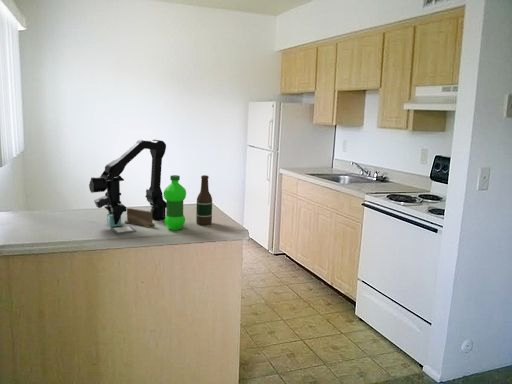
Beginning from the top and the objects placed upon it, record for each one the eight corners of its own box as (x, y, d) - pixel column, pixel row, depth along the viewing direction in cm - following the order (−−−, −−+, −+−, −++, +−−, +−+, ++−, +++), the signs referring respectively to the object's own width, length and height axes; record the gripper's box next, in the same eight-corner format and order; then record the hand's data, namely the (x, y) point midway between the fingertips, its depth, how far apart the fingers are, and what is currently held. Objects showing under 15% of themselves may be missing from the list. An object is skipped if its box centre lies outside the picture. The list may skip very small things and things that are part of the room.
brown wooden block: (131, 220, 219) (131, 207, 218) (154, 225, 213) (154, 211, 212) (124, 223, 215) (124, 209, 213) (147, 227, 209) (147, 213, 207)
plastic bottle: (161, 226, 212) (161, 174, 207) (183, 224, 216) (183, 173, 211) (166, 232, 203) (165, 178, 198) (188, 230, 207) (189, 177, 202)
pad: (129, 226, 209) (129, 225, 209) (136, 231, 202) (136, 230, 202) (110, 229, 204) (110, 228, 204) (116, 234, 197) (116, 233, 197)
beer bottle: (214, 223, 221) (215, 175, 216) (206, 226, 214) (207, 177, 209) (201, 220, 224) (202, 173, 219) (193, 224, 217) (193, 175, 212)
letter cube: (117, 223, 214) (117, 212, 213) (121, 225, 210) (120, 215, 209) (107, 224, 211) (106, 214, 210) (110, 226, 207) (110, 216, 206)
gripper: (90, 188, 211) (91, 220, 214) (101, 195, 196) (102, 230, 199) (113, 186, 217) (114, 217, 220) (126, 193, 202) (127, 226, 205)
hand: (114, 222), depth 211 cm, fingers closed on letter cube, 5 cm apart
